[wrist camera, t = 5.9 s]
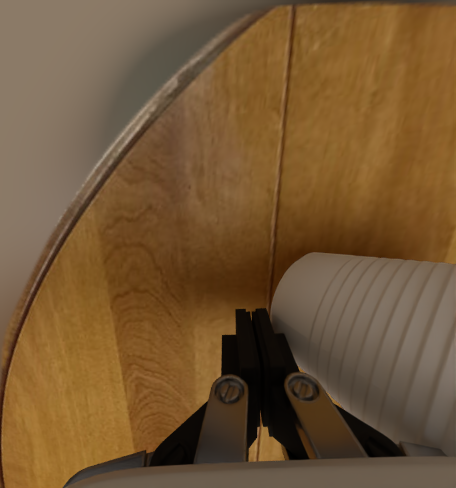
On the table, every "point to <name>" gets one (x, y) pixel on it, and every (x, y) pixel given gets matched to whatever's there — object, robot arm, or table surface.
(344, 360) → the cup
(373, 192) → the table surface
